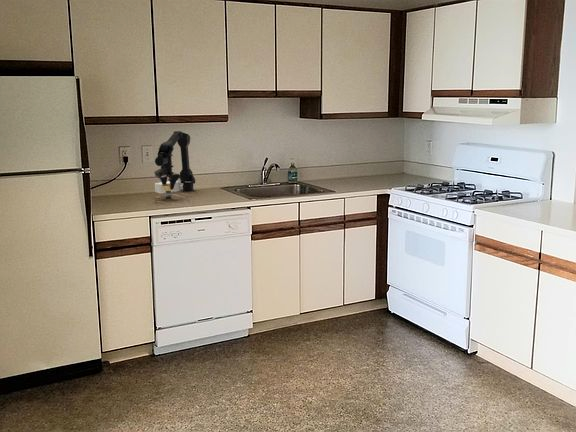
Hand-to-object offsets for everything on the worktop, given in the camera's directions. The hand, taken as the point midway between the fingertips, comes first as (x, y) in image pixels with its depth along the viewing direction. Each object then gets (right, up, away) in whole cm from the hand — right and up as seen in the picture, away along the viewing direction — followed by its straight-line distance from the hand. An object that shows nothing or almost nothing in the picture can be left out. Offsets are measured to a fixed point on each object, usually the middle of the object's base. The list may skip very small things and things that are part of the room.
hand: (168, 188), depth 364 cm
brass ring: (0, -1, 0) cm, 0 cm away
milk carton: (-11, +1, +20) cm, 23 cm away
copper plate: (+3, -5, +8) cm, 10 cm away
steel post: (0, -7, +1) cm, 7 cm away
